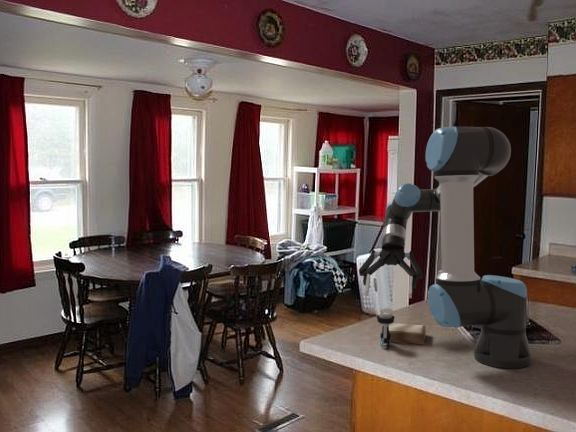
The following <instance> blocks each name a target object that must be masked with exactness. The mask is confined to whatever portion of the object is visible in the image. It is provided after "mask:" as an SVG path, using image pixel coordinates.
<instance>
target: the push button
mask: <svg viewBox="0 0 576 432" xmlns="http://www.w3.org/2000/svg"><path fill="white" fill-rule="evenodd" d="M376 321H377V322H378V324H380V325H382V327H381V329H382V331H381V333H380V344H379V345H380V346H381V348H382V349H388V348H389V347H391V343H392V342H391V340H390V338H391V334H390V333H389V326H388V325H389V324H392V323H394V321H395V316H394V315H392V312H390V311H382V312H379V314H378V315H376Z"/></svg>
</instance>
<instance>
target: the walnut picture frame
mask: <svg viewBox="0 0 576 432" xmlns="http://www.w3.org/2000/svg"><path fill="white" fill-rule="evenodd" d="M388 326H389V333H390V334H391V338H390V340H391V343H403V344H416V345H424V344H425V339H426V329H427V327H426V325H425V324H424V325H423V324H412V323H411V324H409V323H408V324H407V323H394V322H393V323H392V324H389V325H388Z"/></svg>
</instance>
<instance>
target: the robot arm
mask: <svg viewBox="0 0 576 432" xmlns="http://www.w3.org/2000/svg"><path fill="white" fill-rule="evenodd" d="M425 148H426V149H425V162H426V167H427V168H428V170H430V171H432V172H433V173H434V179H435V180H436V181H437V182H438V183H439V185H438V186H437V187H436V188H430V189H429V188H427V189H423V188H422V189H420V188H419V187H418V186H417V185H415V184H412V183H408V182H406V183H403V184H401V185H400V186H399V188H398V189H397V190H396V192H395V194H394V197H393V200H392V201H390V202H389V203H387V205H386V210H385V211H384V212H385V218H384V225H383V226H384V227H383V234H382V240H381V241H382V242H381V248H380V251H376V249H372V250H371V251H370V254H369V256H368V257H367V259H366V260H365V261H364V262H363V264H362V265H361V266H360V268H359V270H358V273H359V277H362V278H363V279H362V284H363V286H365V288H364V289H365V290H364V294H365V296H367V297H368V296H369V292H370V285H371V275H373V274H375V272H376V271H378V270H379V269H380V268H381V267H383V266H386V265H387V266H397V265H399V267H400V268H402V270H403V271H404V272H405V273H407V275H408V276H409V286H408V298H409V299H412V296H413V289H416V288H417V281H418V280H419V279H420V280H422V279H423V277H424V276H423V272H422V270H421V268H420V266H419V264H418V262H417V260H416V259H415V255H414V251H413V250H410V251H409V252H405V248H406V246H405V245H406V235H407V224H408V221H409V218H410V217H411V216H412V213H424V212H429V213H430V212H440V250H441V251H440V253H441V254H440V255H441V257H440V258H441V261H440V263H441V269H440V270H441V272H440V273H439V274H438V273H437V275H436V276H435V283H434V284H431V285H430V286H429V288H428V291H427V302H428V307H429V311H430V314H431V316H432V317H433V319H434V321H435V322H436V323H437V324H438V325H439V326H441V327H443V328H456V329H457V328H460V327H474V326H480V327H481V328H480V329H481V330H480V333H479V336H478V338H477V341H476V343H475V346H474V353H473V354H474V355H473V357H474V359H475V360H476V361H478V362H479V363H481V364H483V365H487V366H491V367H495V368H501V369H521V368H526V367H529V366H531V365H532V361H533V355H532V354H533V353H532V351H531V346H530V344H529V341H528V338H527V330H526V329H527V308H528V307H527V304H528V303H527V301H528V298H529V297H528V292H527V291H528V289H527V285H526V283H524V282H523V281H522V280H519V279H515V278H512V277H507V276H500V275H494V274H493V275H492V274H487V275H486V274H485V275H483V276H482V277H483V278H482V277H481V276H480V275H478V273H476V271H475V238H474V237H475V230H474V228H475V225H474V224H475V223H474V219H475V218H474V215H475V213H474V212H475V211H474V187H476V186H478V185H479V184H480V183H481V182H483V181H484V180H485V179H486V178H488V177H489V176H490V177H492V176H494V175H496V174H498V173H500V171H502V170H503V169H504V168H505V167H506V166H507V164H508V163H509V162H510V161H509V160H510V158H511V155H512V154H511V153H512V147H511V143H510V140H509V139H508V138H507V136H506V135H505V134H504V133H503V132H502V131H501V130H499V129H497V128H495V127H491V126H490V127H489V126H478V127H477V126H456V125H455V126H445V127H439V128H436V129H435V130H434V131H433V133H431V135H430V137H429V139H428V141H427V144H426V147H425ZM378 257H379V258H378ZM377 258H378V259H377ZM405 258H407V260H409V261H410V263H411V266H412V268H413V269H412V268H411V267H410V265H408V263H406V261H405V260H404V259H405ZM376 259H377V261H375V260H376ZM374 261H375V262H374ZM480 278H482V282H480Z"/></svg>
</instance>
